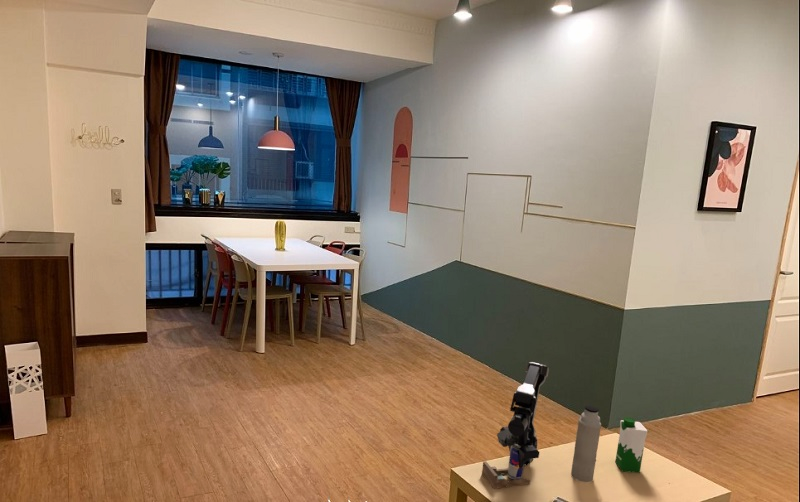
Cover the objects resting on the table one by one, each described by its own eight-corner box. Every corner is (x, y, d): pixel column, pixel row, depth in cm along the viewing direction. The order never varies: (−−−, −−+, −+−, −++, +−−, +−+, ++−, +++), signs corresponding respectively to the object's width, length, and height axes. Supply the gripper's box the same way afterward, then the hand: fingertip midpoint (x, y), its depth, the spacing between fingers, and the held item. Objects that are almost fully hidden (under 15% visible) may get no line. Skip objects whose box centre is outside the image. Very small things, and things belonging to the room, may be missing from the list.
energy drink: (511, 481, 195) (515, 450, 193) (504, 472, 200) (508, 443, 198) (524, 479, 196) (528, 449, 194) (517, 471, 201) (521, 442, 199)
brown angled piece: (517, 470, 204) (518, 458, 203) (530, 484, 195) (531, 471, 194) (481, 473, 199) (483, 461, 198) (493, 488, 190) (494, 475, 189)
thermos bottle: (591, 472, 206) (601, 404, 202) (594, 484, 198) (605, 413, 194) (569, 468, 208) (579, 401, 203) (572, 480, 200) (582, 410, 196)
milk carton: (612, 460, 217) (619, 414, 214) (634, 462, 217) (641, 416, 213) (620, 472, 208) (627, 424, 205) (643, 474, 208) (651, 426, 205)
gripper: (489, 413, 201) (485, 451, 203) (514, 438, 183) (509, 480, 186) (515, 411, 204) (511, 449, 207) (542, 436, 187) (537, 476, 189)
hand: (516, 463), depth 197 cm, fingers closed on energy drink, 5 cm apart
